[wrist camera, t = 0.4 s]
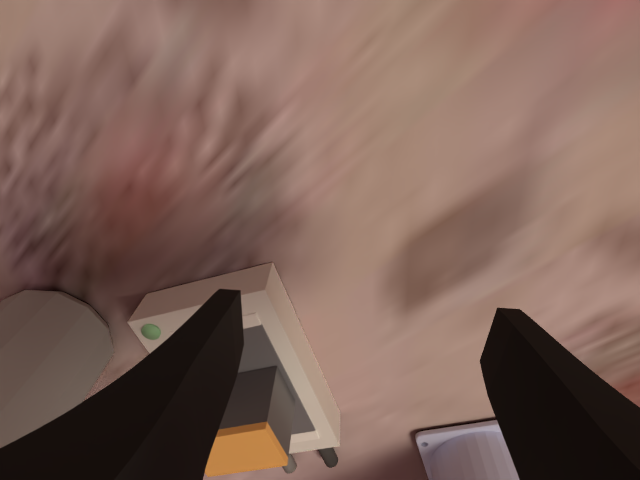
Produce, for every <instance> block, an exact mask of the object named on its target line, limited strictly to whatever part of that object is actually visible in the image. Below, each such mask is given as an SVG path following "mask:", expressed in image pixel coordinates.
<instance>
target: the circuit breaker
mask: <svg viewBox="0 0 640 480" xmlns="http://www.w3.org/2000/svg"><path fill="white" fill-rule="evenodd" d="M218 289H230V290H241V304H242V319H243V334H244V347H243V352H242V356H241V361H240V366H239V370H238V373H244V372H249V371H254V370H259V369H264V368H269V367H274V366H278V368H279V370H280V372H281V374H282V376H283V378H284V380H285V382H286V384H287V386H288V388H289V390H290V392H291V393H292V395H293V397H294V399H295V408H294V416H293V424H292V432H291V440H290V448H289V454H291V453H297V452H304V451H311V450H318V449H324V448H331V447H338V446H340V411H339V409H338V406H337V404H336V402H335V400H334V397H333V395H332V393H331V391H330V389H329V386H328V384H327V382H326V380H325V377H324V375H323V373H322V371H321V368H320V366H319V364H318V362H317V360H316V357H315V355H314V353H313V351H312V348H311V346H310V344H309V342H308V340H307V337H306V335H305V333H304V331H303V328H302V326H301V324H300V322H299V319H298V317H297V315H296V313H295V311H294V308H293V306H292V304H291V302H290V299H289V297H288V295H287V293H286V291H285V288H284V286H283V284H282V282H281V279H280V277H279V275H278V273H277V270H276V268H275V266H274V264H273V262H271V263H267V264H263V265H259V266H255V267H251V268H247V269H243V270H239V271H235V272H231V273H227V274H223V275H219V276H215V277H211V278H207V279H203V280H199V281H195V282H191V283H187V284H183V285H179V286H175V287H171V288H167V289H163V290H159V291H155V292H151V293H147V294H146V295H145V297H144V298H143V300H142V301H141V303H140V304H139V306H138V307H137V309H136V310H135V312H134V313H133V315H132V316H131V317H130V319H129V320H128V322H127V323H128V324H129V326H130V327H131V328H132V330H133V331H134V333H135V334H136V335H137V337H138V338H139V340H140V341H141V342H142V344H143V345H144V347H145V348H146V349H147V351H148V352H149V354H150V353H151V352H152V351H154V350H155V349H156V348H157V347H158V346H160V345H161V344H162V343H163V342H164V341H165V340H167V339H168V338H169V337H170V336H171V335H172V334H173V333H174V332H175V331H176V330H177V329H178V328H179V327H181V326H182V325H183V324H184V323H185V322H186V321H187V320H188V319H189V318H190V317H191V316H192V315H193V314H194V313H195V312H196V311H197V310H198V309H199V308H200V307H201V306H202V305H203V304H204V303H205V302H206V301H207V300H208V299H209V298H210V297H211V296H212V295H213V294H214V293H215V292H216V291H217V290H218Z"/></svg>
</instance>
